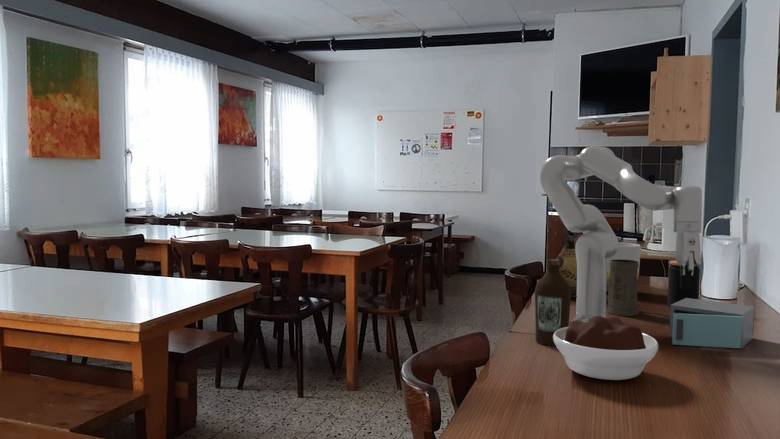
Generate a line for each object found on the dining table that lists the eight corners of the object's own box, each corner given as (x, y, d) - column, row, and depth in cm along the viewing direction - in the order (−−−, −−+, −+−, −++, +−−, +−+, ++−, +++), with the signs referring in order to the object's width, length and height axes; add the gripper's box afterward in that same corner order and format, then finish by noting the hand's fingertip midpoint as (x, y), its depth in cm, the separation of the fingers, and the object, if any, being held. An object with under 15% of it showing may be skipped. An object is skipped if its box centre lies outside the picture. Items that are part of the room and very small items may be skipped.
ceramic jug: (588, 300, 247) (590, 227, 245) (549, 298, 250) (551, 226, 248) (583, 292, 264) (586, 224, 262) (547, 291, 267) (549, 223, 265)
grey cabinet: (740, 348, 177) (742, 314, 177) (669, 336, 191) (670, 304, 190) (753, 338, 189) (754, 306, 189) (684, 327, 203) (686, 297, 202)
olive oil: (538, 335, 190) (540, 256, 189) (573, 340, 185) (575, 259, 183) (529, 343, 181) (531, 260, 179) (565, 348, 176) (567, 263, 174)
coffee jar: (691, 306, 238) (693, 260, 237) (702, 311, 227) (704, 264, 226) (663, 305, 239) (665, 259, 238) (673, 311, 228) (675, 263, 227)
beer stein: (632, 317, 216) (636, 261, 216) (602, 313, 222) (605, 259, 222) (644, 313, 228) (647, 260, 228) (615, 309, 235) (618, 258, 234)
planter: (591, 295, 258) (593, 245, 257) (590, 287, 277) (592, 241, 275) (641, 298, 253) (642, 247, 251) (636, 290, 271) (638, 242, 270)
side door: (745, 349, 175) (746, 317, 174) (673, 345, 179) (674, 314, 178) (742, 347, 177) (744, 316, 176) (672, 343, 181) (673, 313, 180)
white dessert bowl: (575, 354, 170) (576, 301, 169) (669, 372, 155) (671, 314, 154) (535, 375, 151) (536, 316, 150) (638, 399, 135) (640, 333, 134)
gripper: (708, 229, 173) (707, 292, 174) (693, 226, 188) (692, 284, 188) (680, 229, 175) (679, 292, 175) (667, 225, 189) (666, 284, 190)
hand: (686, 288), depth 182 cm, fingers closed
